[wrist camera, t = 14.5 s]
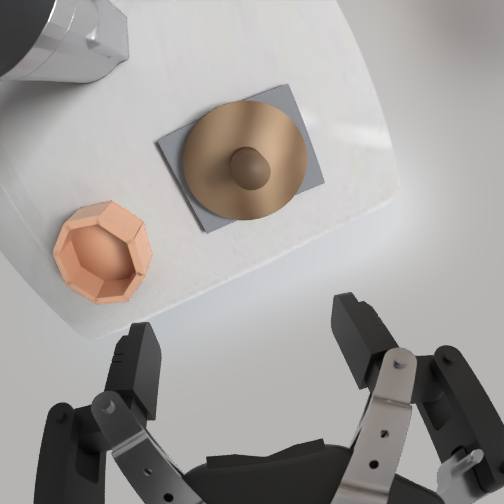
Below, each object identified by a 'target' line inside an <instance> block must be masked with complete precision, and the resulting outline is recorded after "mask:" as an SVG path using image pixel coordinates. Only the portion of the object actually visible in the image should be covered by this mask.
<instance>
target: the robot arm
mask: <svg viewBox="0 0 504 504" xmlns="http://www.w3.org/2000/svg"><path fill="white" fill-rule="evenodd" d="M128 58H129V51H128V35H127V17H126V16H125V15H124V14H123V13H122V12H121V11H120V10H119V9H118V8H117V7H115V6H114V5H113V4H112V3H111V2H110V1H109V0H0V81H58V82H75V83H89V82H93V81H96V80H99V79H101V78H102V77H104V76H106V75H107V74H108V73H110V72H111V71H112V70H113V69H114V68H115V67H116V66H117V65H118V64H119V63H120V62H122V61H124V60H127V59H128ZM332 308H333V309H332V317H331V328H332V332H333V335H334V337H335V339H336V341H337V343H338V344H339V347H340V349H341V351H342V353H343V355H344V358H345V360H346V362H347V364H348V366H349V368H350V370H351V373H352V375H353V377H354V379H355V381H356V383H357V385H358V388H359V389H363V388H367V387H368V389H369V391H370V394H369V396H368V400H367V402H366V405H365V408H364V411H363V414H362V417H361V419H360V422H359V425H358V427H357V430H356V432H355V435H354V437H353V439H352V441H351V444H350V446H349V448H347V447H344V446H339V445H331V444H326V445H325V444H324V441H323V439H318V440H314V441H310V442H306V443H301V444H297V445H293V446H291V447H289V448H287V449H285V450H282V451H280V452H277V453H275V454H273V455H270V456H267V457H257V456H247V455H237V454H233V455H222V456H210V457H206V460H207V463H205V464H202V465H200V466H197V467H195V468H194V469H192V470H190V471H189V472H187V473H186V474H185V473H184V472H182V470H181V469H180V468H179V467H178V466H177V465H176V464H175V463H174V462H173V461H172V460H171V458H170V457H169V456H168V455H167V454H166V453H165V451H164V450H163V449H162V448H161V446H160V445H159V444H158V443H157V441H156V440H155V439H154V438H153V436H152V435H151V434H150V433H149V431H148V430H147V429H146V424H147V420H155V419H156V406H157V395H158V385H159V375H160V367H161V349H160V346H159V343H158V341H157V339H156V336H155V334H154V332H153V329H152V327H151V325H150V323H149V322H141V323H132V324H131V327H130V330H129V334H128V335H127V336H122V338H121V339H120V340H119V341H118V343H117V344H116V347H115V351H114V356H113V358H112V363H111V366H110V369H109V373H108V377H107V382H106V385H105V389H104V392H102V393H100V394H99V395H97V396H96V397H95V398H94V400H93V402H92V404H91V405H88V406H85V407H81V408H76V409H73V408H72V407H71V406H70V405H69V404H68V403H58V404H56V405H54V406H53V407H52V408H51V409H50V410H49V412H48V416H47V420H46V424H45V428H44V433H43V438H42V443H41V448H40V454H39V460H38V467H37V474H36V482H35V492H34V504H105V466H106V451H108V450H113V452H112V456H113V458H114V460H115V462H116V463H117V465H118V466H119V468H120V470H121V471H122V473H123V474H124V476H125V477H126V478H127V480H128V481H129V483H130V484H131V486H132V487H133V488H134V490H135V491H136V493H137V494H138V495H139V497H140V498H141V499H142V500H143V502H144V503H145V504H472V503H474V502H475V501H477V500H479V499H481V498H483V497H485V496H487V495H489V494H491V493H493V492H495V491H497V490H498V489H500V488H502V487H503V486H504V424H503V422H502V421H501V419H500V417H499V415H498V413H497V411H496V410H495V408H494V406H493V404H492V402H491V401H490V399H489V397H488V395H487V394H486V392H485V390H484V389H483V387H482V385H481V384H480V382H479V380H478V379H477V377H476V375H475V374H474V372H473V371H472V369H471V368H470V366H469V364H468V363H467V361H466V360H465V358H464V357H463V355H462V354H461V353H460V351H459V350H458V349H456V348H455V347H452V346H448V345H444V346H441V347H439V348H438V349H437V350H436V351H435V353H434V355H427V356H415V355H414V354H413V353H412V352H411V351H409V350H407V349H405V348H400V347H399V346H398V345H397V343H396V341H395V340H394V338H393V337H392V335H391V334H390V332H389V331H388V329H387V328H386V326H385V325H384V324H383V323H382V321H381V319H380V317H378V314H377V313H376V312H375V310H374V309H373V307H372V306H370V305H369V304H367V303H366V302H364V301H362V302H358V301H357V299H356V298H355V296H354V295H353V294H352V292H348V293H343V294H338V295H335V296H334V299H333V307H332ZM414 403H416V405H417V408H418V410H419V412H420V414H421V416H422V418H423V421H424V423H425V425H426V427H427V430H428V432H429V434H430V437H431V439H432V441H433V444H434V446H435V449H436V451H437V454H438V456H439V458H440V461H441V464H442V465H441V466H440V467H439V469H438V472H437V483H438V488H437V491H436V492H434V491H432V490H430V489H427V488H425V487H423V486H421V485H418V484H416V483H414V482H412V481H410V480H408V479H406V478H404V477H402V476H400V475H398V474H396V473H395V472H396V469H397V466H398V463H399V460H400V457H401V453H402V450H403V446H404V442H405V439H406V435H407V431H408V427H409V423H410V419H411V414H412V406H410V404H414Z"/></svg>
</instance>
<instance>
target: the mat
mask: <svg viewBox="0 0 504 504" xmlns="http://www.w3.org/2000/svg"><path fill="white" fill-rule="evenodd" d="M243 101H258V102H262V103H266V104H268V105H271V106H273V107H275V108H277V109H279V110H280V111H282V112H283V113H285V114H286V115H287V116H288V117H289V118H290V119H291V120H292V121H293V122H294V123H295V125H296V126H297V127H298V129H299V131H300V132H301V134H302V137H303V139H304V142H305V146H306V150H307V167H306V173H305V176H304V179H303V182H302V184H301V186H300V188H299V190H298V191H297V193H296V194H295V195H297V194H299V193H301V192H304V191H306V190H309V189H311V188H313V187H316V186H318V185H321V184H323V183H325V182H324V178H323V175H322V172H321V169H320V166H319V163H318V160H317V158H316V155H315V152H314V149H313V146H312V143H311V141H310V138H309V135H308V132H307V130H306V127H305V124H304V122H303V119H302V117H301V114H300V112H299V109H298V106H297V104H296V101H295V99H294V97H293V94H292V92H291V89H290V87H289V85H288V84H286V85H283V86H280V87H277V88H275V89H272V90H269V91H266V92H264V93H261V94H258V95H256V96H253V97H250V98H248V99H245V100H243ZM200 120H201V119H199V120H197V121H195V122H193V123H191V124H189V125H187V126H185V127H183V128H181V129H179V130H177V131H175V132H173V133H171V134H169V135H167V136H166V137H164V138H162V139H160V140H158V143H159V145H160V147H161V149H162V151H163V153H164V155H165V157H166V159H167V160H168V162H169V164H170V166H171V168H172V170H173V172H174V174H175V176H176V178H177V179H178V181H179V183H180V185H181V187H182V189H183V191H184V193H185V194H186V196H187V198H188V200H189V202H190V204H191V206H192V207H193V209H194V211H195V213H196V215H197V217H198V218H199V220H200V222H201V224H202V226H203V227H204V229H205V231H206V233H207V234H208V233H210V232H212V231H214V230H216V229H219V228H221V227H223V226H225V225H227V224H230V223H232V222H234V221H236V220H234V219H229V218H225V217H222V216H220V215H217V214H215V213H213V212H212V211H210V210H208V209H207V208H206V207H204V206H203V205H202V204H201V203H200V202H199V201H198V200H197V199H196V198H195V196H194V195H193V194H192V192H191V190H190V188H189V187H188V184H187V182H186V179H185V175H184V171H183V153H184V148H185V145H186V142H187V139H188V137H189V135H190V133H191V131H192V130H193V128H194V127H195V125H196V124H197V123H198V122H199V121H200Z"/></svg>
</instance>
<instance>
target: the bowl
mask: <svg viewBox="0 0 504 504" xmlns="http://www.w3.org/2000/svg"><path fill="white" fill-rule="evenodd" d="M52 253H53V256H54V258H55V261H56V263H57V266H58V268H59V270H60V273H61V275H62V277H63V280H64V282H65V284H66V285H67V286H68V287H69V288H71V289H72V290H74V291H75V292H77V293H79V294H80V295H82V296H83V297H85V298H87V299H88V300H90V301H91V302H93V303H95V304H106V303H117V302H127V301H129V299H130V298H131V296H132V295H133V293H134V292H135V290H136V289H137V287H138V286H139V284H140V283H141V281H142V280H143V279H144V277H145V275H146V272H147V269H148V266H149V263H150V260H151V257H152V252H151V248H150V244H149V241H148V237H147V233H146V229H145V225H144V222H143V221H142V220H141V219H139V218H138V217H136V216H135V215H133V214H132V213H130V212H129V211H127V210H126V209H124V208H123V207H121V206H120V205H118V204H117V203H115V202H114V201H107V202H102V203H98V204H93V205H89V206H85V207H81V208H80V209H78V210H77V211H76V212H75V213H74V214H73V215H72V216H71V217H70V218H69V219H68V220H67V221H66V222H65V223H64V224H63V227H62V229H61V232H60V234H59V237H58V239H57V242H56V244H55V247H54V250H53V252H52Z"/></svg>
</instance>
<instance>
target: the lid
mask: <svg viewBox="0 0 504 504" xmlns="http://www.w3.org/2000/svg"><path fill="white" fill-rule="evenodd" d="M306 167H307V150H306V146H305V142H304V139H303V137H302V134H301V132H300V131H299V129H298V127H297V126H296V125H295V123H294V122H293V121H292V120H291V119H290V118H289V117H288V116H287V115H286V114H285V113H283V112H282V111H280V110H279V109H277V108H275V107H273V106H271V105H268V104H266V103H262V102H258V101H236V102H231V103H227V104H224V105H222V106H219V107H217V108H215V109H214V110H212V111H210V112H209V113H208V114H206V115H205V116H204V117H203V118H202V119H201V120H200V121H199V122H198V123H197V124H196V125H195V127H194V128H193V130H192V131H191V133H190V135H189V137H188V139H187V142H186V145H185V148H184V153H183V171H184V175H185V179H186V182H187V184H188V187H189V188H190V190H191V192H192V194H193V195H194V196H195V198H196V199H197V200H198V201H199V202H200V203H201V204H202V205H203V206H204V207H206V208H207V209H208V210H210V211H212V212H213V213H215V214H217V215H220V216H222V217H225V218H229V219H234V220H253V219H258V218H262V217H265V216H268V215H270V214H272V213H274V212H276V211H278V210H279V209H281V208H282V207H283V206H285V205H286V204H287V203H288V202H289V201H290V200H291V199H292V198H293V197H294V195H295V194H296V193H297V191H298V190H299V188H300V186H301V184H302V182H303V179H304V176H305V173H306Z"/></svg>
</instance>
